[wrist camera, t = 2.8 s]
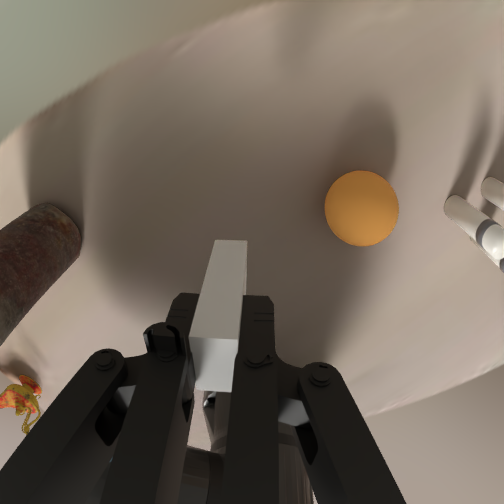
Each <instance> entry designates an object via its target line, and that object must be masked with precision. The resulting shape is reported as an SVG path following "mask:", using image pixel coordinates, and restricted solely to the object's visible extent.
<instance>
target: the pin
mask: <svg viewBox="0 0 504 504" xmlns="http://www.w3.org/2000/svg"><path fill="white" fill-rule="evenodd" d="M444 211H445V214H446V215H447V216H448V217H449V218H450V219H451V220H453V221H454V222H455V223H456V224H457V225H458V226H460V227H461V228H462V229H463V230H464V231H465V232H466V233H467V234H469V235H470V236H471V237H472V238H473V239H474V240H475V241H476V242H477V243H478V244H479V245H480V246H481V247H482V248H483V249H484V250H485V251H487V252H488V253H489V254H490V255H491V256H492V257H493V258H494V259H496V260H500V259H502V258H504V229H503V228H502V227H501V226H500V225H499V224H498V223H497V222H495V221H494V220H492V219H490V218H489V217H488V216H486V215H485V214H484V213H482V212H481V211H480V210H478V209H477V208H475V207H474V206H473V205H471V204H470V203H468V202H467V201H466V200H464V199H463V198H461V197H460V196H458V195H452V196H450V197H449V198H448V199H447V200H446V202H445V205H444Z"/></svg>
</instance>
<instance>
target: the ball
mask: <svg viewBox="0 0 504 504" xmlns="http://www.w3.org/2000/svg"><path fill="white" fill-rule="evenodd" d="M398 213H399V206H398V200H397V197H396V194H395V192H394V190H393V188H392V187H391V185H390V184H389V183H388V182H387V181H386V180H385V179H384V178H382V177H381V176H379V175H377V174H375V173H373V172H369V171H362V170H360V171H352V172H349V173H346V174H344V175H343V176H341V177H339V178H338V179H337V180H336V181H335V182H334V183H333V184H332V186H331V187H330V189H329V191H328V193H327V196H326V199H325V216H326V219H327V222H328V225H329V227H330V228H331V230H332V231H333V232H334V234H335V235H336V236H337V237H339V238H340V239H341V240H343V241H344V242H346V243H349V244H351V245H354V246H370V245H374V244H376V243H379V242H380V241H382V240H384V239H385V238H386V237H387V236H388V235H389V234H390V233H391V231H392V230H393V228H394V227H395V224H396V222H397V219H398Z"/></svg>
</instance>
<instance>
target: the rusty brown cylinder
mask: <svg viewBox="0 0 504 504" xmlns="http://www.w3.org/2000/svg"><path fill="white" fill-rule="evenodd" d="M80 247H81V236H80V233H79V231H78V228H77V226H76V225H75V224H74V223H73V221H72V220H71V219H70V218H69V217H68V216H67V215H65V214H64V213H63V212H62V211H60V210H59V209H58V208H57V207H54V206H53V205H51V204H48V203H43V204H39V205H36V206H34V207H33V208H31V209H30V210H28V211H27V212H25V213H23V214H22V215H21V216H19V217H18V218H16V219H15V220H13V221H12V222H11V223H9V224H8V225H7V226H5V227H4V228H2V229H1V230H0V346H1V345H2V344H3V342H4V341H5V340H6V338H7V337H8V336H9V334H10V333H11V332H12V331H13V330H14V328H15V327H16V326H17V325H18V324H19V322H20V321H21V320H22V319H23V317H24V316H25V315H26V314H27V313H28V312H29V310H30V309H31V308H32V307H33V306H34V304H35V303H36V302H37V301H38V300H39V299H40V298H41V297H42V296H43V295H44V294H45V292H46V291H47V290H48V289H49V288H50V287H51V286H52V285H53V284H54V283H55V282H56V281H57V279H58V278H59V277H60V276H61V275H62V274H63V273H64V272H65V271H66V270H67V269H68V268H69V267H70V266H71V265H72V263H73V262H74V261H75V260H76V259H77V258H78V257H79V255H80Z"/></svg>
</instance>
